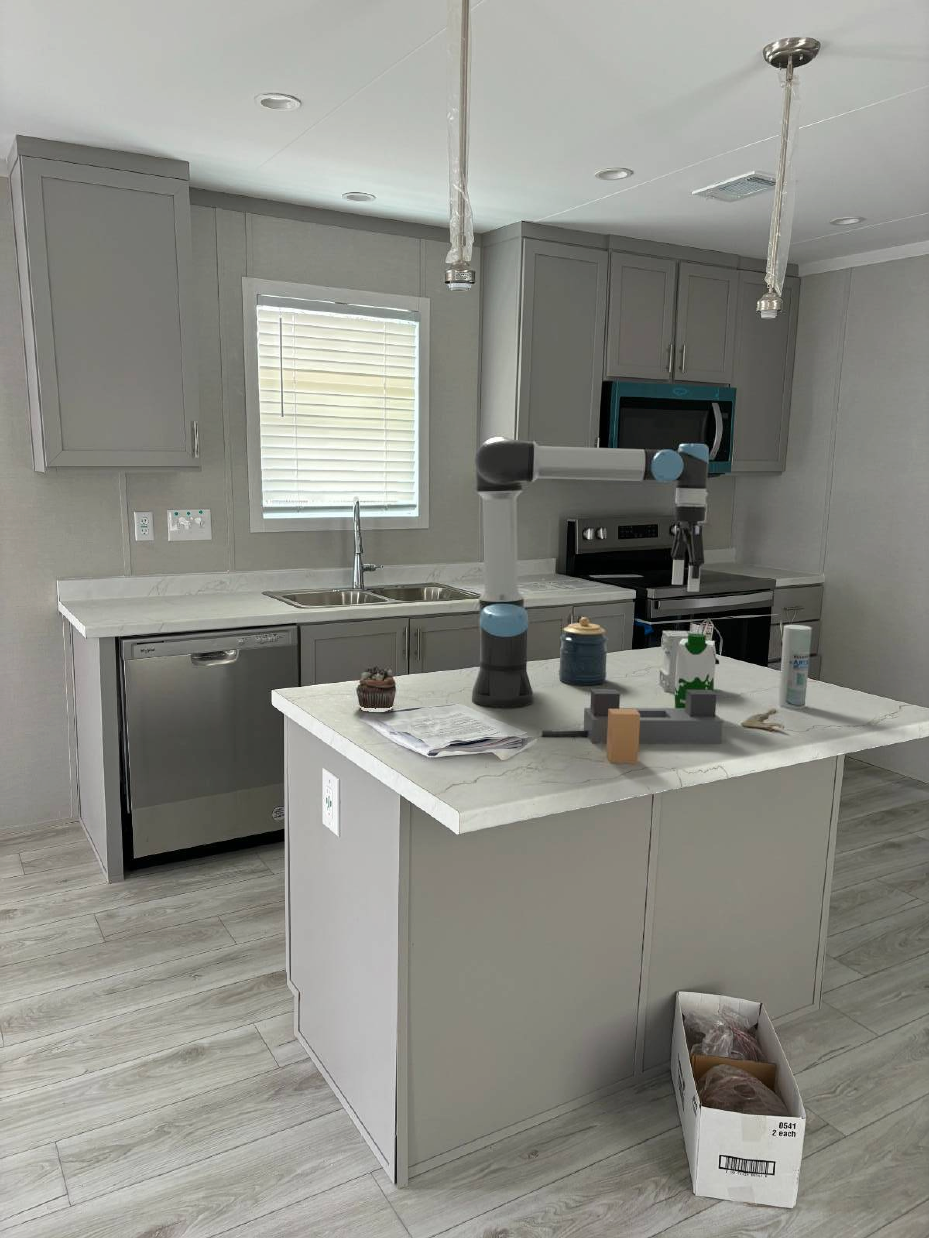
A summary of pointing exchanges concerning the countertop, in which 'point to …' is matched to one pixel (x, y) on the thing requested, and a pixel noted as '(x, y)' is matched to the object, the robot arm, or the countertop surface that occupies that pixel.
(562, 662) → the canister
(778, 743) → the countertop surface
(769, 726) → the jawbone
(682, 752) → the countertop surface
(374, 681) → the cupcake
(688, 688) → the milk carton
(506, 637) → the robot arm
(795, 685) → the spray can
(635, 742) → the plug
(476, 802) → the countertop surface
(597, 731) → the power strip
